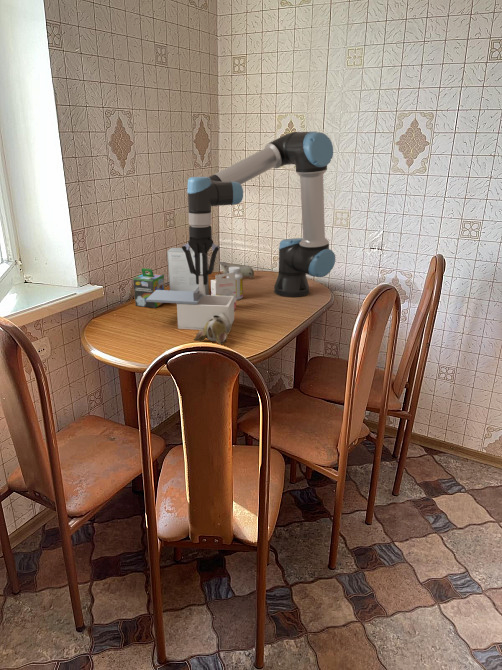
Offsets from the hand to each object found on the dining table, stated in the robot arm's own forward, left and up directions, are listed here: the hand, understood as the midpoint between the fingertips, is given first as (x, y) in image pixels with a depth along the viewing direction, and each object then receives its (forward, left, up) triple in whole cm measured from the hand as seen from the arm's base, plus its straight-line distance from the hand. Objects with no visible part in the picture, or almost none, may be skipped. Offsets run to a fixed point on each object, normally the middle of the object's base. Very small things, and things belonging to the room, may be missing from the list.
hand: (202, 293), depth 178 cm
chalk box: (+26, -20, -12) cm, 34 cm away
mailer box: (-1, 0, -12) cm, 12 cm away
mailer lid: (+10, 0, -2) cm, 10 cm away
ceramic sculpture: (-7, +14, -12) cm, 20 cm away
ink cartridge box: (-4, -18, -12) cm, 22 cm away
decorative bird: (-2, -64, -12) cm, 65 cm away
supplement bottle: (-6, -33, -12) cm, 35 cm away
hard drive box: (+13, -32, -12) cm, 36 cm away
